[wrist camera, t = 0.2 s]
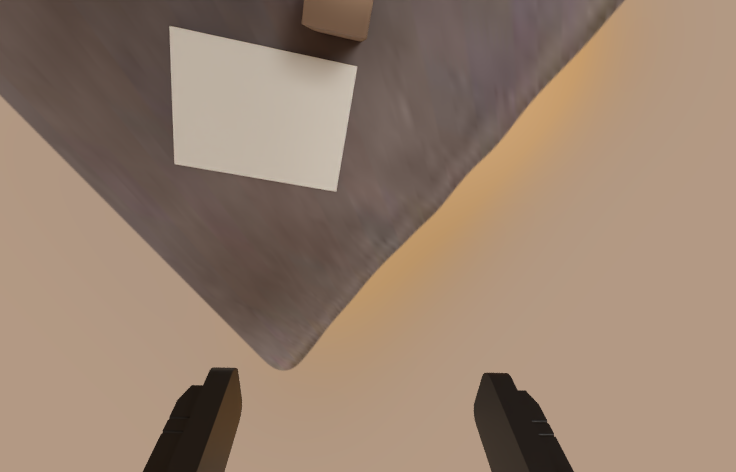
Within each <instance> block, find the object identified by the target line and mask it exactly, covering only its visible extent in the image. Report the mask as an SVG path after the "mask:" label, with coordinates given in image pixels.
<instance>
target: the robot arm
mask: <svg viewBox="0 0 736 472" xmlns="http://www.w3.org/2000/svg"><path fill="white" fill-rule="evenodd" d="M241 409H242V397H241V390H240V382H239V375H238V369H237V368H211V370H210V372H209V373H208V376H207V378H206V380H205V383H204V385H203V386H202V385H201V386H199V385H196V386H195V385H192V386H191V387H190V388H189V389H188V390H187V391H186V392H185V393H184V394H183V395H182V396H181V397H180V398H179V399H178V400H177V402H176V404H175V407H174V409H173V411H172V413H171V415H170V419H169V420H168V421H167V423H166V425H165V427H164V429H163V433H162V434H161V436H160V438H159V439H158V441H157V444H156V446H155V448H154V450H153V452H152V454H151V456H150V458H149V460H148V462H147V464H146V466H145V468H144V471H143V472H224V471H225V468H226V464H227V461H228V458H229V454H230V451H231V448H232V444H233V441H234V437H235V434H236V431H237V427H238V424H239V420H240V416H241ZM474 417H475V422H476V426H477V428H478V432H479V434H480V438H481V441H482V444H483V447H484V450H485V452H486V456H487V459H488V462H489V465H490V468H491V471H492V472H574V471H573V469H572V467H571V465H570V464H569V462H568V460H567V458H566V456H565V454H564V452H563V450H562V448H561V447H560V444H559V443H558V441H557V439H556V437H554V433H553V431H552V429H551V427H550V425H549V424H548V423H547V419H546V417H545V416H544V414H543V412H542V410H541V408H540V406H539V404H538V403H537V402H536V401H535V400H534V399H533V398H532V397H531V396H530V395H529V394H528V393H527V392H526V391H518V390H517V388H516V386H515V385H514V382H513V380H512V378H511V376H510V375H509V374H507V373H484V374H483V376H482V379H481V382H480V386H479V389H478V393H477V396H476V400H475V403H474Z"/></svg>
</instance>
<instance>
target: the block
mask: <svg viewBox="0 0 736 472" xmlns="http://www.w3.org/2000/svg"><path fill="white" fill-rule="evenodd" d="M372 5H373V0H304V6H303V15H302V25H304V26H306V27H308V28H310V29H312V30H314V31H316V32H320V33H324V34H329V35H333V36H337V37H342V38H346V39H351V40H355V41H359V42H362V41H364V40H366V39H367V34H368V28H369V22H370V16H371V11H372Z"/></svg>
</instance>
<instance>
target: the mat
mask: <svg viewBox="0 0 736 472" xmlns="http://www.w3.org/2000/svg"><path fill="white" fill-rule="evenodd" d="M169 29H170V57H171V84H172V111H173V138H174V164H177V165H183V166H189V167H195V168H201V169H206V170H212V171H218V172H224V173H230V174H236V175H241V176H247V177H253V178H259V179H265V180H271V181H276V182H282V183H288V184H294V185H300V186H306V187H312V188H317V189H323V190H329V191H335V192H336V190H337V184H338V178H339V172H340V166H341V160H342V154H343V149H344V143H345V137H346V131H347V125H348V119H349V113H350V107H351V101H352V95H353V89H354V83H355V78H356V72H357V66H353V65H349V64H344V63H339V62H335V61H330V60H326V59H321V58H316V57H312V56H307V55H303V54H298V53H293V52H289V51H284V50H279V49H275V48H270V47H266V46H261V45H256V44H252V43H247V42H243V41H238V40H233V39H229V38H224V37H220V36H215V35H210V34H206V33H201V32H196V31H192V30H187V29H183V28H178V27H173V26H169Z"/></svg>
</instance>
